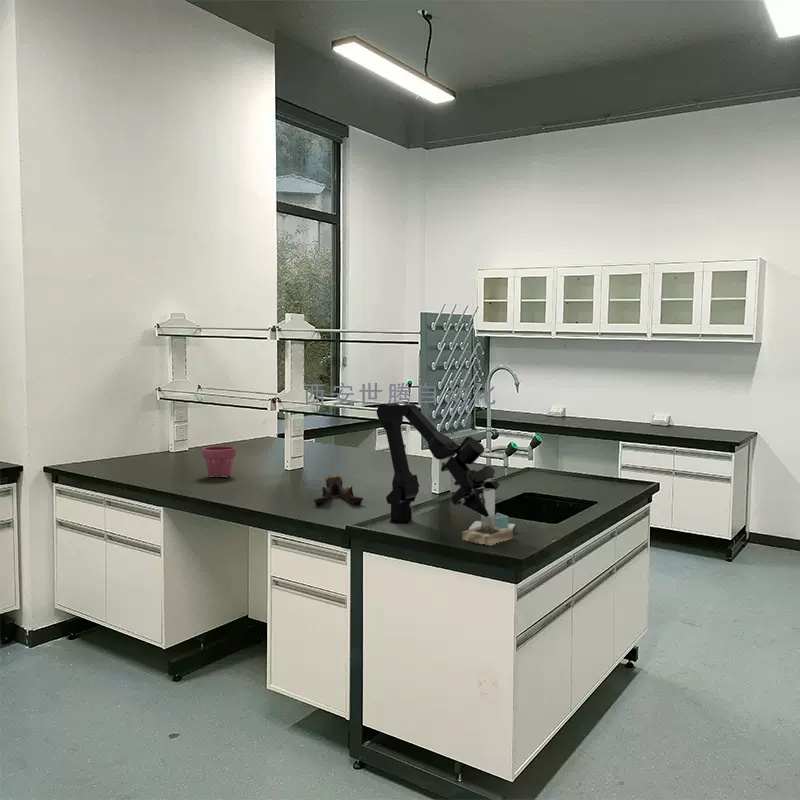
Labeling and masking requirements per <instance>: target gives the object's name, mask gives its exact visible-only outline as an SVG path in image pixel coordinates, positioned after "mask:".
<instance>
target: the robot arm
mask: <svg viewBox="0 0 800 800" xmlns="http://www.w3.org/2000/svg"><path fill="white" fill-rule="evenodd" d="M376 416H377V418H378V421H379V422H378V423H379V424H380V425H381V427H382V428H383V430H385V433H386V438H387V442H388V443H387V444H388V448H389V452H390V458H391V462H392V467H393V474H394V475H393V478H392V482H391V484H392V485H391V488H392V490H390V492H389V493H388V494H387V495H386V497H385V498H386V499H385V500H386V503H387V504H388V505H390V519H389V523H391V522H410V523H411V521H412V520H413V514H414V513H413V506H412V502H415V501H416V499H417V498H416V497H417V495H418V494H419V490H420V489H419V488H420V484H419V481H418V480H419V479H418V475H417V474H413V473H412V472H411V470H410V467H409V462H408V458H407V453H406V448H405V447H406V446H405V443H404V439H403V435H402V434H403V433H402V426H403V421H404V417H405V418H406V420H407V421H409V423H410V424H411V425H412V426H413V427H414V429H415V430H416V431H417V432H418V433H419V434H420V435H421V436H422V437H423V439H424V440H425V441H426V442H427V445H428V446H427V447H428V449H429V451H430V453H431V454H432V456H433V457H434V458H435V459H436V460H445V459H448V460H447V461H445V462H441V469H440V471H441V472H447V471H448V472H449V473H450V475H451V476H452V478H453V479H454V481H455V482H453V484H454V485H455V486H458V487H459V488H457V490H456V491H455V492H454V493H453V494H452V495H451V496H450V502H451V503H452V505H453V506H454V507H455V506H459V505H461V503H462V499H463V501H464V502H463V503H462V506H463V507H467V508H468V509H471V510H473V511H475V512H476V513H477V514H480V516H481V515H483V516H485V517H488V516H489V514H488V512H487V510H486V508H485V507H484V505H483V504H482V502H481V496H482V489H486V488H489V489H495V491H496V490H498V488H500V486H501V484H500V483H499V482H498V480H494V479H493V478H495V474H496V473H495V471H496V470H495V468H493V467H492V466H491V465H489V464H488V465H485V466H483V467H482V469H479V470H476V469H471V468H470V467H469V465H473V464H474V463H475V462H476V461H477V459H479V457H480V456H482V454H483V453H484V452H485V448H484V445H483V444H482V443H481V442H479V441H478V440H477V439H474V438H473V437H472V435H469V436H465V438H464V439H463V441H462V442H461V443H460V444H457V443H456V442H455V441H454V440H453V439H452V438H451V437H449V436H447V435H446V434H443V433H442V432H440V431H439V430H438V429H437V428H436V427H435V426H434V425H433V424H432V423H431V421H430V420H429V419H428V418H427V417H426V416H425V415H424V414H423V413H422V411H421V410H420V409H419V407H418V406H417V405H416V404H415V403H405V404H402V405H400V404H399V403H397V402H387V403H381V404H379V405H378V407H377V409H376ZM490 479H492V480H490ZM496 513H498V512H497V507H496V506H495V514H496Z"/></svg>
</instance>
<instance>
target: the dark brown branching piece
mask: <svg viewBox="0 0 800 800" xmlns="http://www.w3.org/2000/svg"><path fill="white" fill-rule="evenodd" d="M324 478H325V486H324V485H323V484H321V485H320V488H321V491H322V496H320V497H318V498H315V499H313V502H314V504H315V506H316V507H321V506H322V505H324V504H325V503H328V502H329V501H330V500H331V499H332V497H337V496H338V497H340V498H341V499H342V500H343V501H345V502H349V503H353V504H354V505H356V506H361V505H362V501H363V500H364V498H363V497H361V496H355V495H354V491H353V485H352V484H350V483H349V484H348V485H347V487H346V488H344V487H343V484H344V483H343V480H344V476H343V474H341V475H340V473H338V474H335V476H333V475H329V474H328V475H325V477H324Z"/></svg>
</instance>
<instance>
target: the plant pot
mask: <svg viewBox="0 0 800 800" xmlns="http://www.w3.org/2000/svg"><path fill="white" fill-rule="evenodd" d="M236 455H237V448H236V447H235V446H228V445H227V446H226V445H224V446H223V445H222V446H220V445H219V446H218V445H217V446H215V445H214V446H205V447H202V458H204V462H205V466H206V470H207V473H208V475H207V476H208V477H209V476H213V477H222V476H229V475H230V476H231V474H232V473H231V472H232V469H233V464H234V458H235V457H237V456H236Z"/></svg>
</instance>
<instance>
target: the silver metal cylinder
mask: <svg viewBox="0 0 800 800" xmlns="http://www.w3.org/2000/svg"><path fill="white" fill-rule="evenodd" d="M481 502H482V504H483V505H484V507H485V508H486V510H487V512H488V514H489V516H488V517H485V516H483V515H481V514H480V521H481V533H485V534H490V535H491V534H494V525H495V507H496V490H495V489H489V488H486V489H482V496H481Z"/></svg>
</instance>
